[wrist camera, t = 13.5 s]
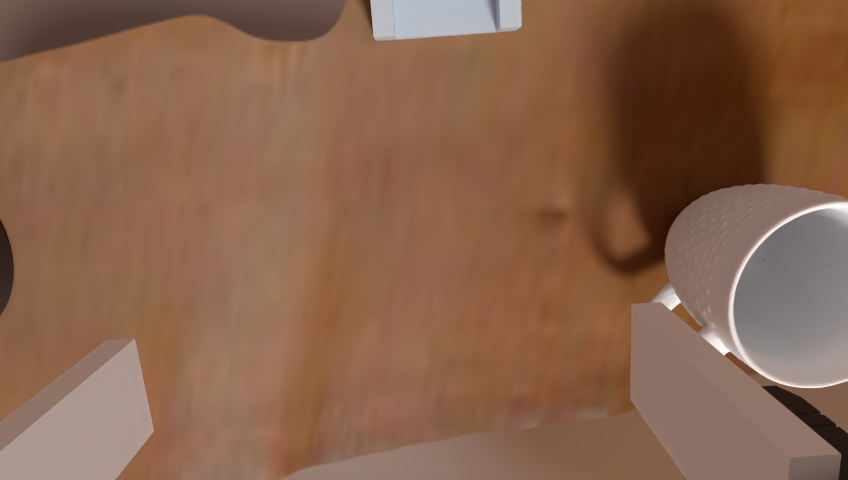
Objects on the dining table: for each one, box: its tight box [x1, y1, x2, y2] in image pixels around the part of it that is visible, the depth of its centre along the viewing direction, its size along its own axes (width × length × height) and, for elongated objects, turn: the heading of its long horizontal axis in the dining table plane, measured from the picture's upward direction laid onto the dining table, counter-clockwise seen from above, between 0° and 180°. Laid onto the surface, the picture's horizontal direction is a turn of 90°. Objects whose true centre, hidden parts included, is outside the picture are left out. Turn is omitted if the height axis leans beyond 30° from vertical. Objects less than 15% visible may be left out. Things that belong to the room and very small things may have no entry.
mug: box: [649, 184, 848, 388], centre depth 38 cm, size 15×11×13 cm
